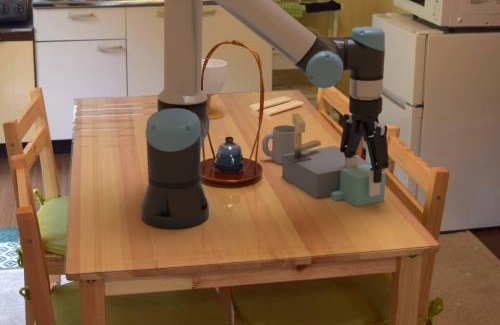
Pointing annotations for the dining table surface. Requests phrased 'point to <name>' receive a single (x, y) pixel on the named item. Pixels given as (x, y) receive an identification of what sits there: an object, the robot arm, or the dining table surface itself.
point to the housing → (316, 170)
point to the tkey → (298, 145)
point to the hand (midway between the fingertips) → (362, 188)
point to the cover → (358, 186)
